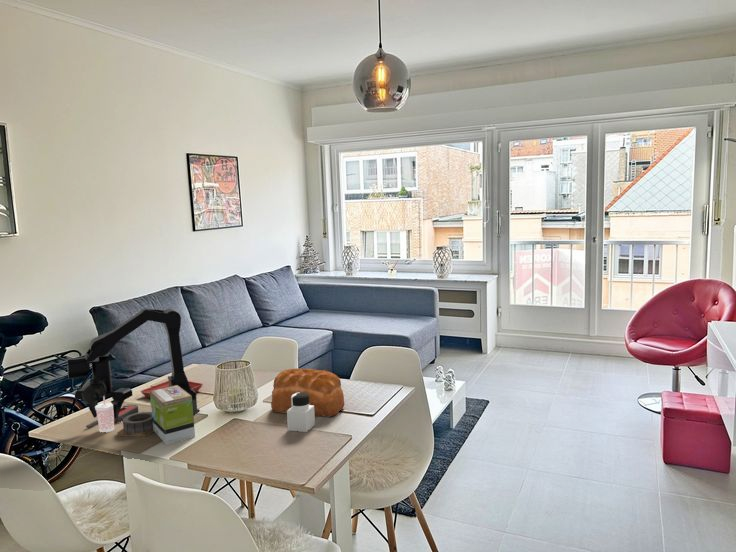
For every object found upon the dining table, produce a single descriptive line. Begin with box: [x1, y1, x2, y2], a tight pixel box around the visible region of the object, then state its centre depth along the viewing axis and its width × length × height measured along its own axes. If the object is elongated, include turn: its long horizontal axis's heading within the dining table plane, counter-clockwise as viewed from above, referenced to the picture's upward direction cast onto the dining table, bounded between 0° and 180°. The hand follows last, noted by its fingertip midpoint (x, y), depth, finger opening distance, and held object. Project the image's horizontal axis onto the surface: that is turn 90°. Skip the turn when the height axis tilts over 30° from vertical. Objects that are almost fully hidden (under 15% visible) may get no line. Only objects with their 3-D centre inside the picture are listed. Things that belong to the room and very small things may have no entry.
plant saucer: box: [140, 380, 204, 398], centre depth 235 cm, size 18×18×3 cm
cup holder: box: [116, 411, 155, 437], centre depth 197 cm, size 11×11×4 cm
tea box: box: [149, 385, 196, 446], centre depth 191 cm, size 15×10×15 cm, turn 36°
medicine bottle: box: [286, 392, 316, 433], centre depth 193 cm, size 7×7×12 cm
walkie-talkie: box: [85, 404, 139, 429], centre depth 208 cm, size 9×4×20 cm
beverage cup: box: [95, 396, 115, 433], centre depth 197 cm, size 6×6×14 cm
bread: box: [270, 368, 345, 417], centre depth 211 cm, size 14×26×16 cm, turn 71°
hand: (105, 417), depth 197 cm, fingers closed on beverage cup, 8 cm apart
